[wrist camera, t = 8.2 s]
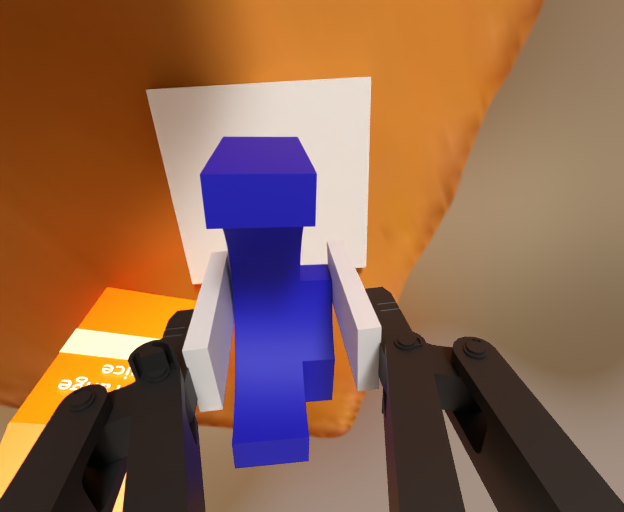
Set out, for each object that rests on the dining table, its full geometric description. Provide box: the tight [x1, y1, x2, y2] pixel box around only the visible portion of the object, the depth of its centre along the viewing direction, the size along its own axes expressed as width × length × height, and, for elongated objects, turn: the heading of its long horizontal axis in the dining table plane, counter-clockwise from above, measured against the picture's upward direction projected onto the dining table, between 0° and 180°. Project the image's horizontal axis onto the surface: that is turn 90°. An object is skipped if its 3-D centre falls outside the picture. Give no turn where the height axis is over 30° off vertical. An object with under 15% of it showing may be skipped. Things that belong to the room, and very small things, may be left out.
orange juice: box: [0, 287, 197, 512], centre depth 27 cm, size 8×9×20 cm
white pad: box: [146, 77, 371, 284], centre depth 30 cm, size 16×16×1 cm
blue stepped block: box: [200, 137, 335, 468], centre depth 15 cm, size 12×4×6 cm, turn 179°
